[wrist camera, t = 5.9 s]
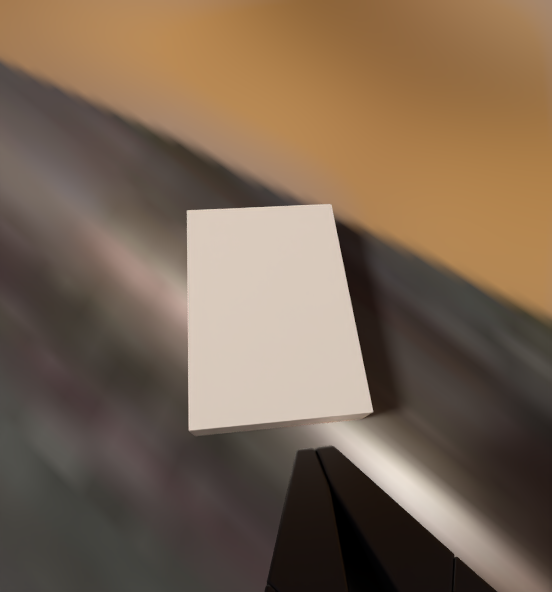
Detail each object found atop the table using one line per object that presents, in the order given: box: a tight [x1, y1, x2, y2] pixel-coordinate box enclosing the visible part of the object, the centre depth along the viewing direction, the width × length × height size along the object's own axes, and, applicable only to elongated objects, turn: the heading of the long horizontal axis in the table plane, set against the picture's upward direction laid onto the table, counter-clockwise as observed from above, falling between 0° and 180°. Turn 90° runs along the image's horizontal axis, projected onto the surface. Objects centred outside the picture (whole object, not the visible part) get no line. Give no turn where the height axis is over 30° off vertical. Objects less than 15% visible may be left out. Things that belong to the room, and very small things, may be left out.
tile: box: [187, 204, 373, 436], centre depth 18 cm, size 2×7×10 cm
